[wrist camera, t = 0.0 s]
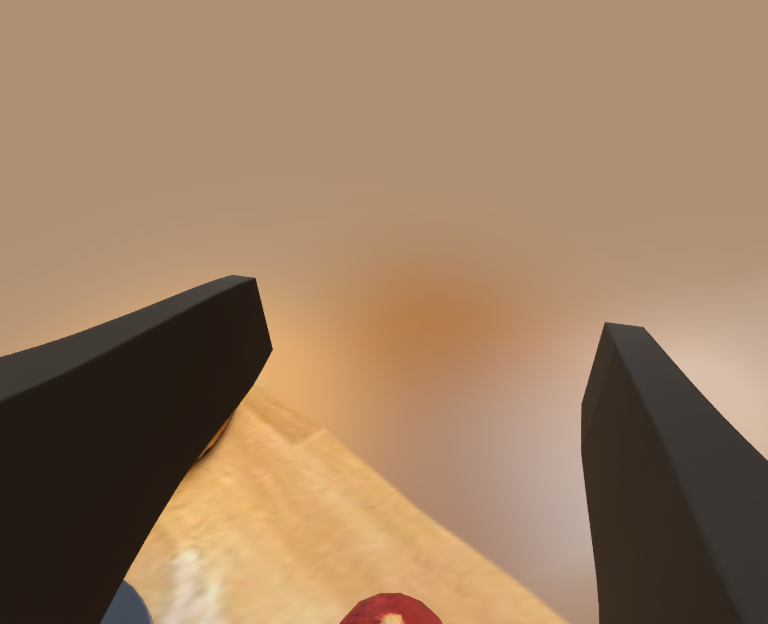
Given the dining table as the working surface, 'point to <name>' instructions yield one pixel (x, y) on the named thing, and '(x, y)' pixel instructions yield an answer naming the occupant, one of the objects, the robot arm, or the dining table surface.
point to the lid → (127, 608)
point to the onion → (391, 611)
